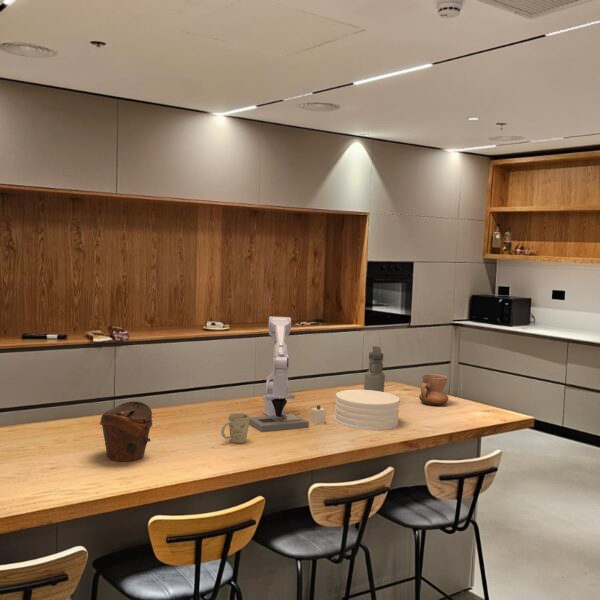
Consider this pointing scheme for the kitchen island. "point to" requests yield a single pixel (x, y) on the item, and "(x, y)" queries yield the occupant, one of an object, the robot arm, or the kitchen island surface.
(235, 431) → the mug
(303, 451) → the kitchen island surface
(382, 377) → the grey stone figurine
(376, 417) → the plate stack
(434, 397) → the ceramic jug
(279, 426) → the socket
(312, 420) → the plug
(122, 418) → the brown rounded container
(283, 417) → the block
